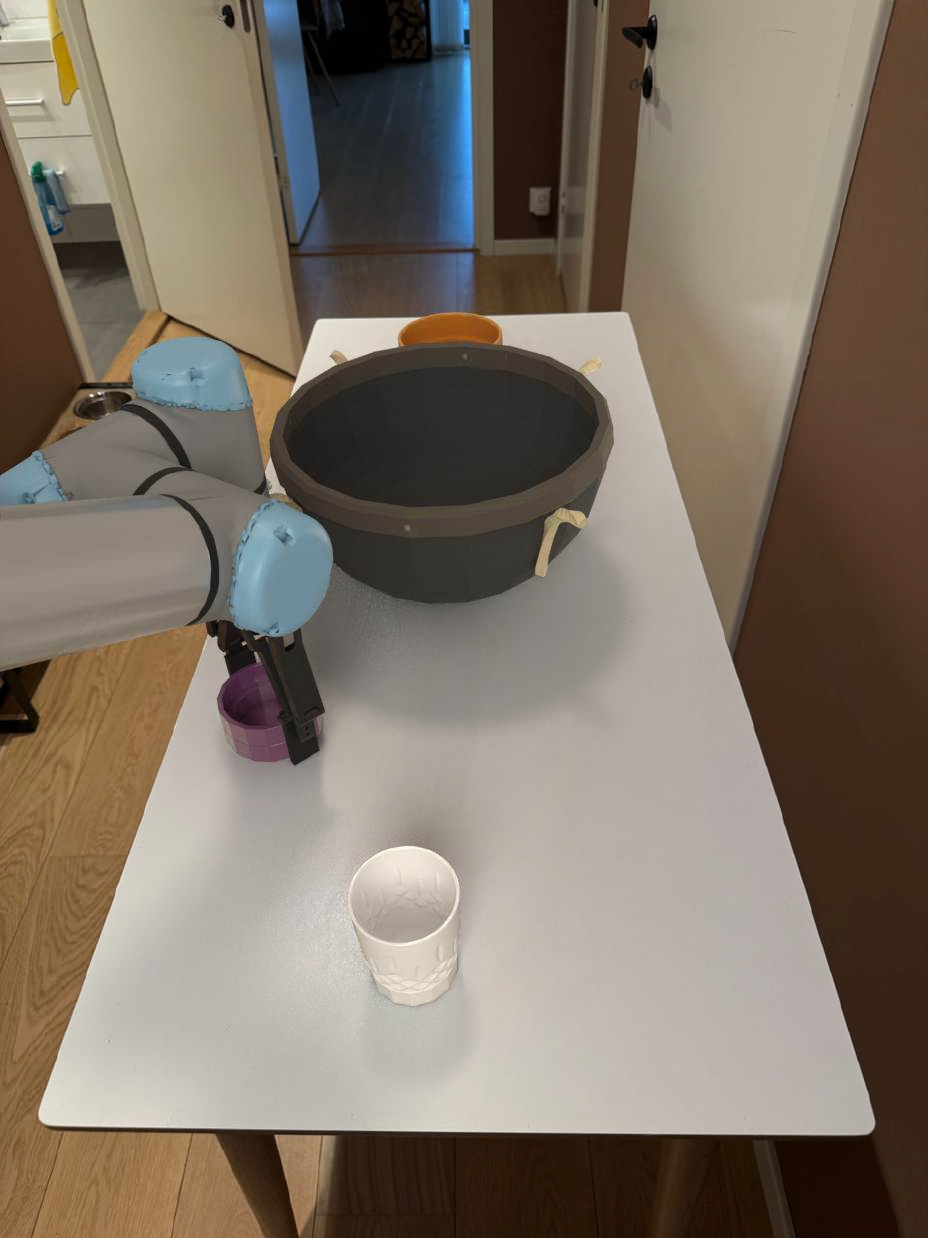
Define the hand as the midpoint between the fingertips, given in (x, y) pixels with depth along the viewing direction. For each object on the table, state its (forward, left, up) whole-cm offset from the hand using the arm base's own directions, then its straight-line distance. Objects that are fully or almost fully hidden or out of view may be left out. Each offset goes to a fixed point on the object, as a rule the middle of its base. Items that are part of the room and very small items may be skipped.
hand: (277, 726), depth 88 cm
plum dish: (0, 0, 0) cm, 0 cm away
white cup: (-5, -27, -2) cm, 27 cm away
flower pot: (+51, +35, -2) cm, 62 cm away
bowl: (+29, +9, -2) cm, 30 cm away
